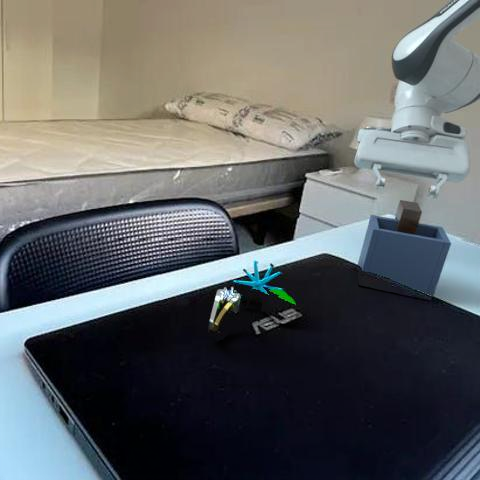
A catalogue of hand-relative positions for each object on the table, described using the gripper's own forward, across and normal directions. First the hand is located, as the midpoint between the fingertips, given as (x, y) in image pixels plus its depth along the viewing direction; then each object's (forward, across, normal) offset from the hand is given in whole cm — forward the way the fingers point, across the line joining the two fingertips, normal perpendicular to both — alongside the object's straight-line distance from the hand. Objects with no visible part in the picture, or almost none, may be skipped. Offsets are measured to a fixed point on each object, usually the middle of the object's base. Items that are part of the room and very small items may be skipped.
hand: (405, 191), depth 95 cm
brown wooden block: (+12, 0, +1) cm, 12 cm away
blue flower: (+32, -20, -11) cm, 39 cm away
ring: (+40, -25, -20) cm, 51 cm away
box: (+18, 0, +2) cm, 18 cm away
